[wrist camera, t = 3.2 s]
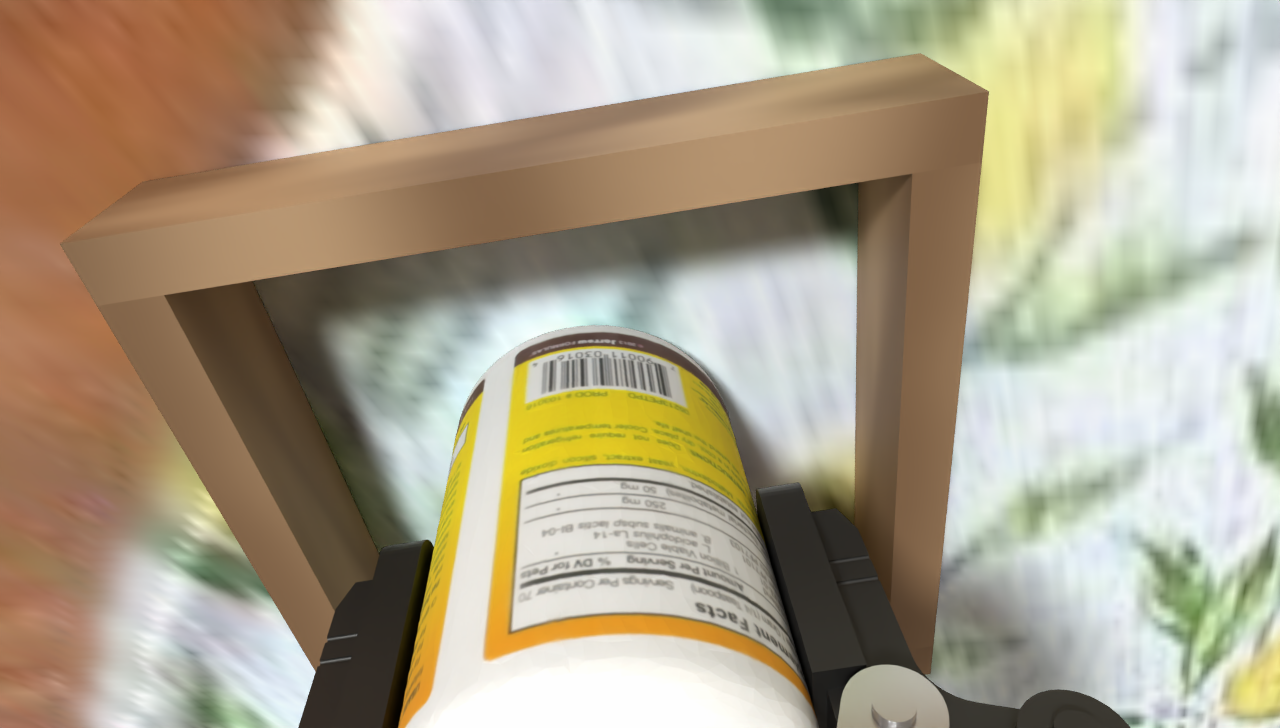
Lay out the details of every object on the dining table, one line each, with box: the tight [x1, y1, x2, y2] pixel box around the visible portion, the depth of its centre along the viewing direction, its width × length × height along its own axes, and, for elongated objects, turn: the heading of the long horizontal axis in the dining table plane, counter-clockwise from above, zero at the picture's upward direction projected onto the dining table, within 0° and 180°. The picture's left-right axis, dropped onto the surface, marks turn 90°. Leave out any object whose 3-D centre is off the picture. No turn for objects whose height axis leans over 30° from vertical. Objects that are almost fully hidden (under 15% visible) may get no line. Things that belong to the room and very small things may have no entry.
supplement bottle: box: [398, 325, 819, 728], centre depth 12 cm, size 6×6×10 cm
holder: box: [60, 53, 989, 675], centre depth 15 cm, size 13×13×2 cm
